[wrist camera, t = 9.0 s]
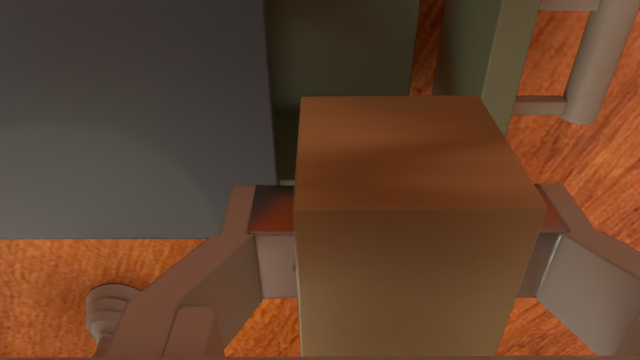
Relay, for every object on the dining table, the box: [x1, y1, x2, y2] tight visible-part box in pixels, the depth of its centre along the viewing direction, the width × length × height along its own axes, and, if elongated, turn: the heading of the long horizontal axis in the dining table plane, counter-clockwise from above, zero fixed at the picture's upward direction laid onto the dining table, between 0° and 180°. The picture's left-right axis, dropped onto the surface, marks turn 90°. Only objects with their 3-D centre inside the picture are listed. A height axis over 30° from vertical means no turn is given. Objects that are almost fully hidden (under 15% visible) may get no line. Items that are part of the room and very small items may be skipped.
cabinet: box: [0, 0, 280, 239], centre depth 18 cm, size 14×13×9 cm
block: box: [293, 95, 548, 357], centre depth 10 cm, size 4×4×4 cm
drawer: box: [267, 0, 640, 185], centre depth 18 cm, size 17×11×7 cm
